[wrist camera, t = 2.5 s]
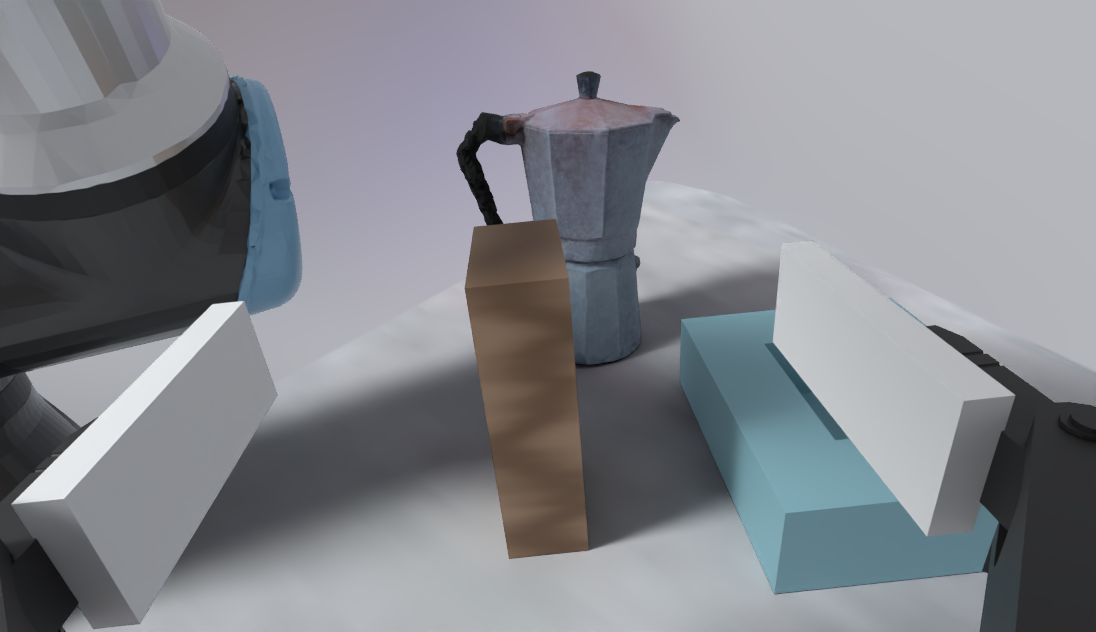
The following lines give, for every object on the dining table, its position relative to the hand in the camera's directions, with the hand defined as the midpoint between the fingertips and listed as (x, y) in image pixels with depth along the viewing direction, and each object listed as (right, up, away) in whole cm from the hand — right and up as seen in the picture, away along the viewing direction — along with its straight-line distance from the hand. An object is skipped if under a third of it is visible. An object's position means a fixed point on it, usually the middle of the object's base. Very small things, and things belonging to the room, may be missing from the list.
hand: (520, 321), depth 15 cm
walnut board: (+1, -10, +18) cm, 21 cm away
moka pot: (+4, -2, +33) cm, 34 cm away
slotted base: (+17, -8, +20) cm, 27 cm away
